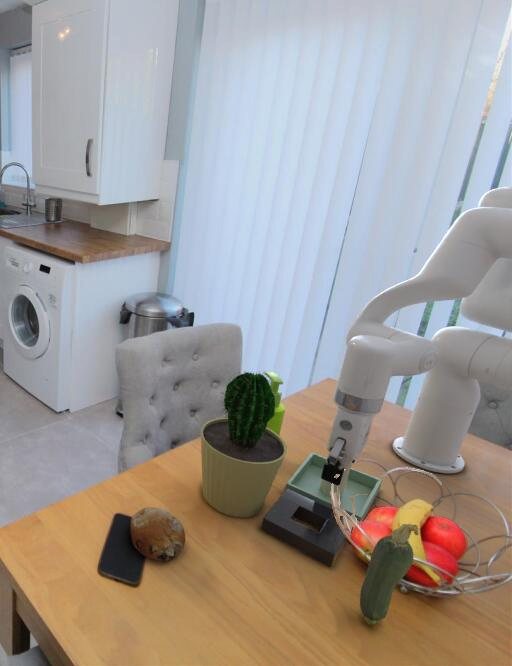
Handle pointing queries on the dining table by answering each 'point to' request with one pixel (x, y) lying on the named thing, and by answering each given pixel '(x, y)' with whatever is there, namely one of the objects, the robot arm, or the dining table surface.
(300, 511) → the block
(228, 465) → the potted cactus
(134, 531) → the bread roll
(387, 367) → the robot arm
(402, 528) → the vegetable
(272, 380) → the soap dispenser
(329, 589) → the dining table surface
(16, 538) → the dining table surface
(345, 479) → the plug
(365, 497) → the green tray
